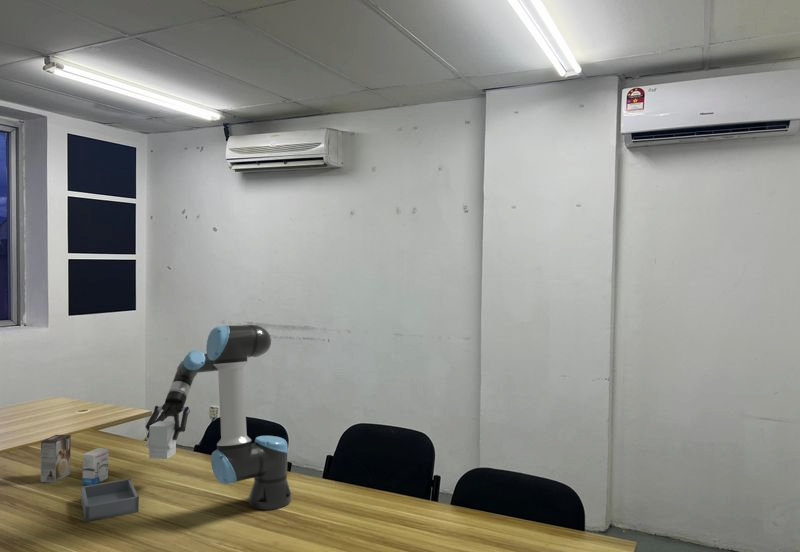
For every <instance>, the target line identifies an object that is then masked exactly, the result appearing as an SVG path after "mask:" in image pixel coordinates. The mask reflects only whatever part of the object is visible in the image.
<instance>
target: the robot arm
mask: <svg viewBox="0 0 800 552" xmlns="http://www.w3.org/2000/svg"><path fill="white" fill-rule="evenodd" d="M271 345H272V338H271V335H270V333H269V332H268V331H267V329H265V328H264V327H262V326H260V325H256V324H244V325H243V324H242V325H221V326H216V327H214V328H212V329H211V330H210V333H209V335H208V337H207V340H206V345H205V346H206V348H205V350H206V352H205V353H203V352H202V351H200V350H197V349H196V350H195V349H194V350H191V351H189V352H188V353H187V354H186V355H185V356H184V358H183V360H182V361H180V363H179V365H178V366H177V369H176V372H175V375H174V378H173V380H172V383H171V385H170V388H169V390H168V393H167V395H166V398H165V402H164V403H163V404H162V405H161V406H159V405H155V406H154V410H153V412H152V414H151V416H150V417H149V419H148V421H147V423H146V425H145V429H146V430H147V431H148V432H147V435H146V438H147V440H146V443H145V446H146V448H147V449H149V426H150V425H152V424H154V423H156V422H158V421H164V420H166V419H167V418H169V417H173V420H174V421H173V422H175V430H172V433H171V436H170V439H169V441H168V444H167V446H168V448H169V449H171V448H172V445H173V442H174V440H176V441H177V440H178V437H179V434H180V433H181V432H182V433H184V432H186V426H187V423H188V415H189V414H190V412H191V409H190V407H189V406H185V404H186V401H187V399H188V398H187V397H188V395H189V392H190V389H191V387H192V384H193V381H194V379H195V378H196V376H197V375H198V373H208V372H217V371H218V372H217V373H218V392H219V393H218V395H219V415H220V417H219V419H220V436H221V438H220V439H219V441H218V442H217V443H216V449H215V450H214V451H213V452H212V453H211V455H210V456H211V457H210V464H211V469H212V473H213V475H214V477H215V479H216V480H217V482H219V483H221V484H223V485H227V484H232V483H233V484H235V483H236V482H237V483H239V482H242V481H246V480H249V479H253V484H252V487H251V490H250V491H249V492H250V493H249V495H248V505H249V506H250V507H251V508H254V509H258V510H265V511H267V510H276V509H280V508H283V507H286V506H287V505H289V504H290V503H291V501H292V492H291V489H290V484H289V482H288V454H289V450H288V449H289V448H288V442H287V441H286V439H285V438H284V437H283V438H282V437H280V436H274V435H260V436H259V435H258V436H256V437H255V439H254V442H253V443H252V438H250V437H249V436H248V435H247V434H248V433H247V418H246V417H247V416H246V415H247V414H246V396H245V395H246V394H245V378H244V377H245V375H244V374H245V373H244V366H245V365H247V363H248V359H250V358H257V357H260V356H262V355H264V354H265V353H267V352H268V351H269V349H270V348H271ZM181 412H182V416H181V421H180V414H181ZM159 414H160V415H159Z"/></svg>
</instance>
